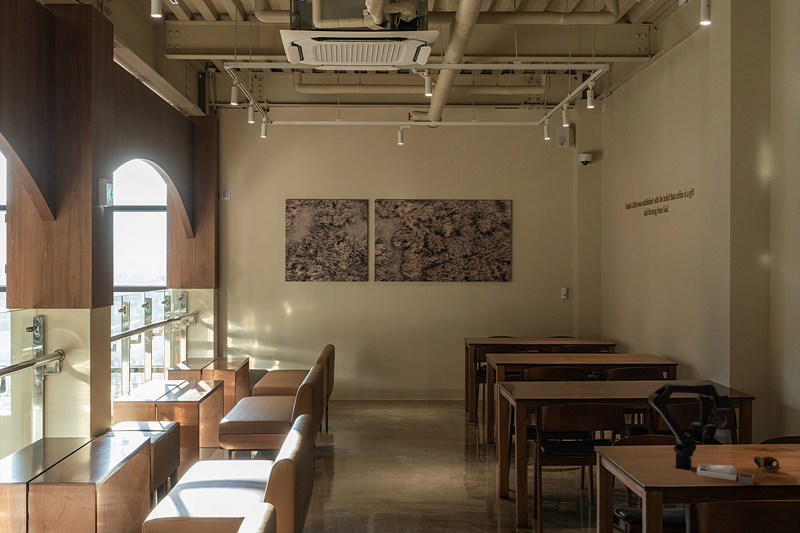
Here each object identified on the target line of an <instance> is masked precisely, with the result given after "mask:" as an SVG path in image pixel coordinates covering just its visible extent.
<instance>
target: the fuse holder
mask: <svg viewBox="0 0 800 533" xmlns="http://www.w3.org/2000/svg"><path fill="white" fill-rule="evenodd" d="M738 484H742V485H749V486H754V474H752V473H751V474H750V473H749V474H748V473H743V472H739V473H738Z"/></svg>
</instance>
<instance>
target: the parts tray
mask: <svg viewBox="0 0 800 533" xmlns="http://www.w3.org/2000/svg"><path fill="white" fill-rule="evenodd" d="M707 465H708V464H703V463H698V466H697V468H696V475H697V476H701V477H707V478H708V477H709V478H715V479H723V480H730V481H737V473H736V474H725V473H715V472H708V471H707V470H706V466H707Z"/></svg>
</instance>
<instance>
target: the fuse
mask: <svg viewBox="0 0 800 533" xmlns="http://www.w3.org/2000/svg"><path fill="white" fill-rule="evenodd" d="M706 465H707V466H706V470H705V471H708V472H715V473H723V474H730V475H734V474H736V473H737V472H738V470H737V466H736V465H734V464H733V465H732V464H729V465H727V464H726V465H725V464H724V465H723V464H709V463H708V464H706Z"/></svg>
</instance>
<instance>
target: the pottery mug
mask: <svg viewBox="0 0 800 533" xmlns="http://www.w3.org/2000/svg"><path fill="white" fill-rule="evenodd" d="M753 462H754V463H755V465H756V466H757V467H758V469H761V468H762V469H761V473H775V472H777V471H778V470H781V467H780V462H779V460H778V459H777V458H775V457H773V456H769V455H766V456H763V457H761V456H754V457H753ZM774 463H776V464H775V465H774ZM775 470H776V471H775Z"/></svg>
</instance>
